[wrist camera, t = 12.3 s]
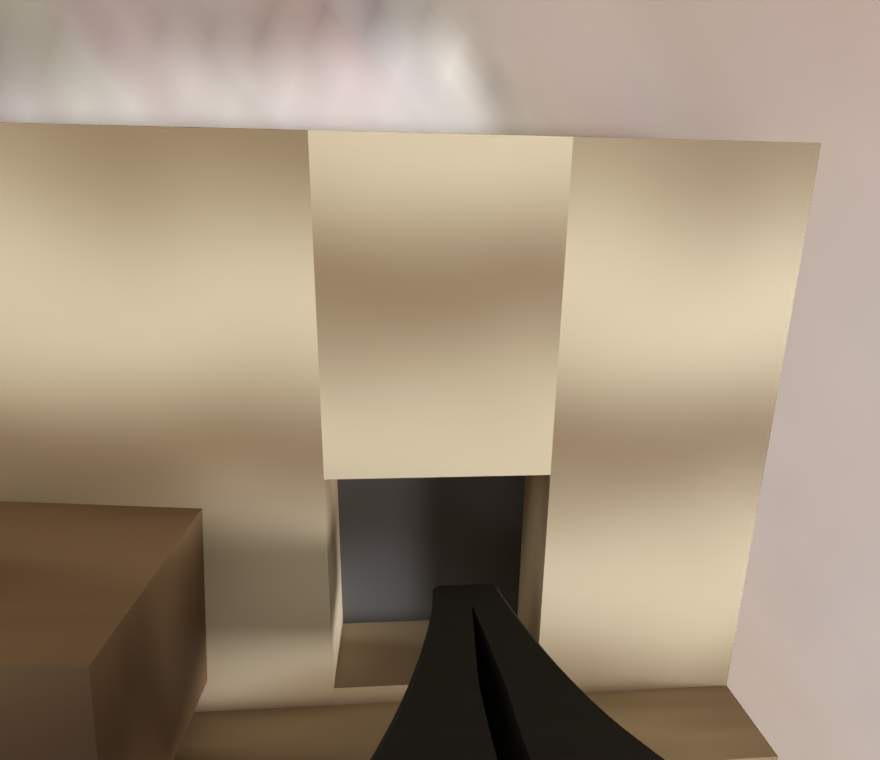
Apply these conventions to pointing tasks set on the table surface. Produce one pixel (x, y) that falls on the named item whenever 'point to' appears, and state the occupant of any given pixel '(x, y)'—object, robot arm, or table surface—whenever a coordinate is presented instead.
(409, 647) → the trap board
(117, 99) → the table surface
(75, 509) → the walnut block
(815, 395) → the table surface
